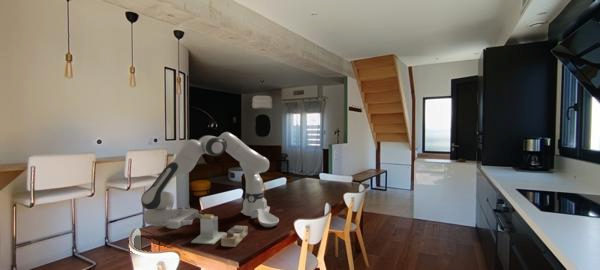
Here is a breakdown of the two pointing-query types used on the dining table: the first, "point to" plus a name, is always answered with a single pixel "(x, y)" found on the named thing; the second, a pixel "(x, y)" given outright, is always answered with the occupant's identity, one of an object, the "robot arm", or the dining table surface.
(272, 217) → the spoon rest
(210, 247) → the dining table surface
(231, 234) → the block plane
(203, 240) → the mat
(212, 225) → the grey tall block
